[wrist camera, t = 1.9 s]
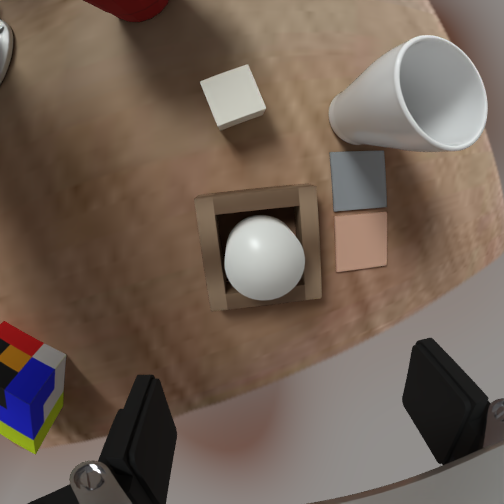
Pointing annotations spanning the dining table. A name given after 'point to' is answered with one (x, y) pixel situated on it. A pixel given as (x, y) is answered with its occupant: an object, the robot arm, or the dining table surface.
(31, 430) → the puzzle toy
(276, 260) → the dome button
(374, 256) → the pad
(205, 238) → the button frame
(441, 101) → the drinking glass
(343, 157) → the pad mid
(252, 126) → the dining table surface
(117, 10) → the plastic cup
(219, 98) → the white cube
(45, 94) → the dining table surface
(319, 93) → the dining table surface
